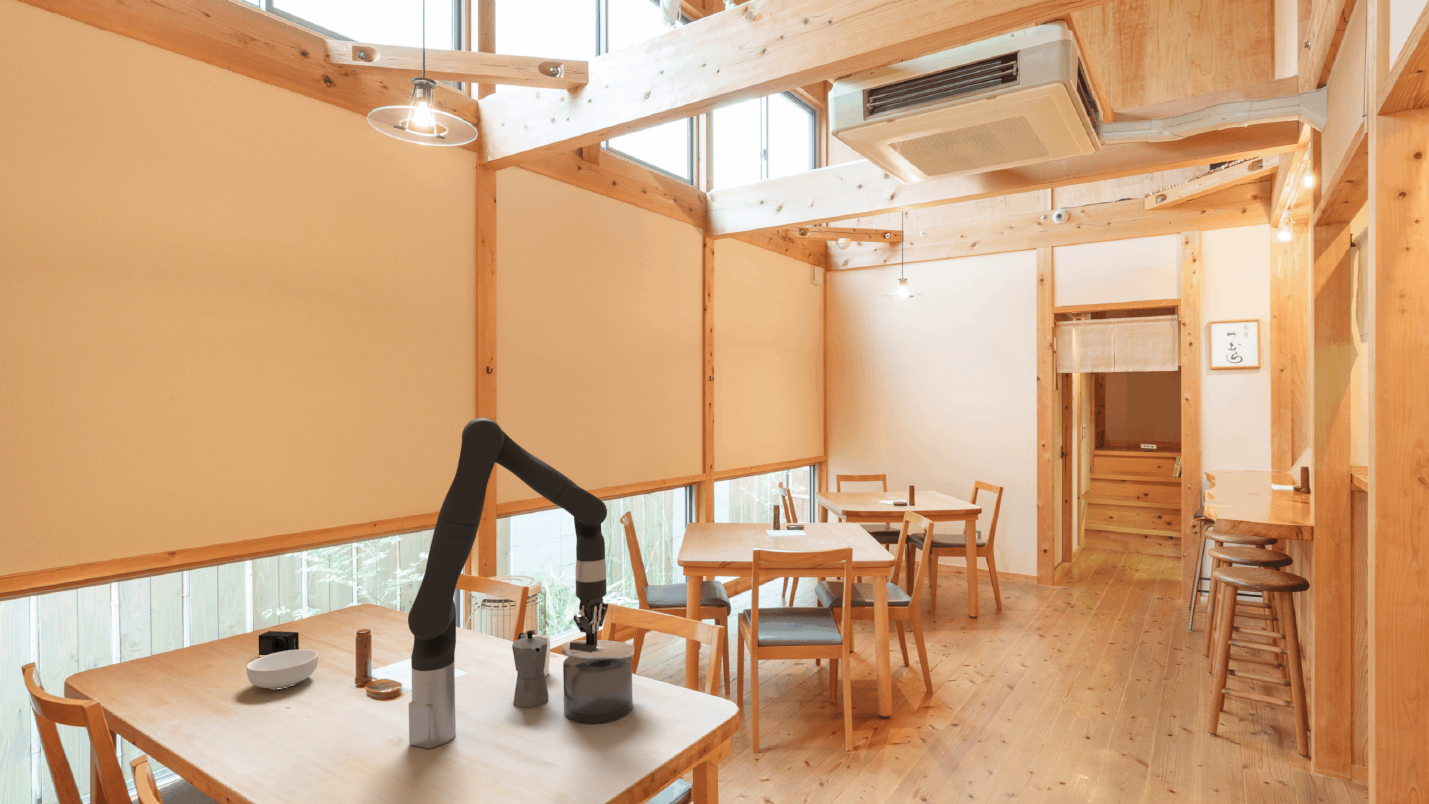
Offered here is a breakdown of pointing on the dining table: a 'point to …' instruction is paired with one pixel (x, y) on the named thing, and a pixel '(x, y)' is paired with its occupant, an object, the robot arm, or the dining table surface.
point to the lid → (598, 649)
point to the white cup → (546, 668)
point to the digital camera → (278, 642)
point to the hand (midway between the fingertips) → (591, 647)
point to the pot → (597, 689)
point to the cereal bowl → (282, 668)
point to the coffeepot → (530, 670)
